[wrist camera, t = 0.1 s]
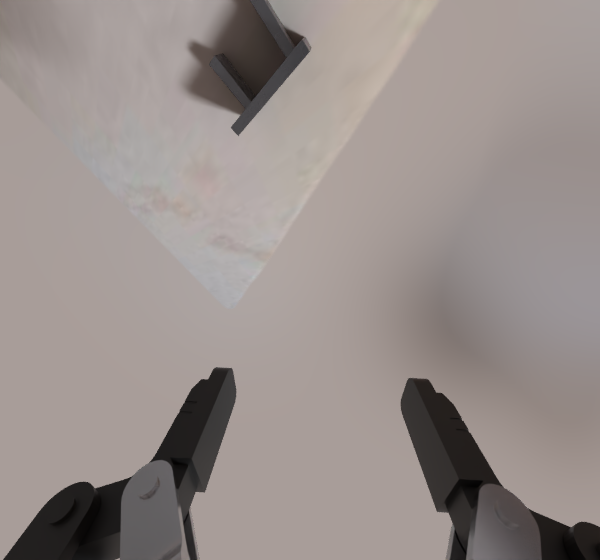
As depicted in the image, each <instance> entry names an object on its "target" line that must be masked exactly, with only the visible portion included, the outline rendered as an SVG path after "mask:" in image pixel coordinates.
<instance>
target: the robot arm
mask: <svg viewBox="0 0 600 560" xmlns="http://www.w3.org/2000/svg"><path fill="white" fill-rule="evenodd" d="M235 399H236V386H235V380H234V375H233V370H232V368H218V367H216V368H214V369H213V371H212V373H211V375H210V377H209V379H208V380H205V379H202V380H200V381H199V383H197V384H196V385H195V386H194V387H193V388H192V389H191V391H190V393H189V395H188V397H187V398H186V401H185V403H184V404H183V406H182V407H181V409H180V412H179V414H178V415H177V417H176V418H175V420H174V422H173V424H172V426H171V428H170V429H169V431H168V433H167V435H166V437H165V438H164V440H163V442H162V444H161V446H160V447H159V449H158V451H157V453H156V454H155V456H154V457H153V459H152V460H151V461H150V462H149V463H148V464H146V465H145V466H144V467H142V468H141V469H139V470H138V471H137V472H136V473H135V474H134V475H133V476H132V477H130V478H128V479H125V480H122V481H119V482H115V483H112V484H109V485H105V486H102V487H99V488H94V487H93V486H92V485H91V484H90V483H88V482H78V483H75V484H72V485H70V486H68V487H67V488H65V489H63V490H61V491H60V492H59V493H57V494H56V495H55V496H54V497H53V498H51V499H50V500H49V501H48V502H47V503H46V504H45V505H44V507H43V508H42V509H41V510H40V511H39V513H38V514H37V515H36V517H35V518H34V519H33V521H32V522H31V523H30V525H29V526H28V527H27V529H26V530H25V532H24V533H23V534H22V535H21V537H20V538H19V539H18V541H17V542H16V544H15V545H14V546H13V547H12V549H11V550H10V551H9V553H8V554H7V555H6V557H5V558H4V559H3V560H115V559H118V558H120V560H199V554H198V548H197V542H196V537H195V531H194V525H193V520H192V515H191V509H190V506H191V503H192V500H193V497H194V495H195V492H205V490H206V487H207V484H208V481H209V478H210V475H211V472H212V469H213V466H214V463H215V460H216V457H217V454H218V451H219V448H220V445H221V442H222V439H223V437H224V434H225V430H226V427H227V424H228V421H229V418H230V416H231V413H232V409H233V407H234V403H235ZM401 411H402V415H403V418H404V420H405V423H406V426H407V429H408V431H409V434H410V437H411V440H412V443H413V445H414V448H415V451H416V454H417V457H418V460H419V462H420V465H421V468H422V471H423V474H424V476H425V479H426V482H427V485H428V488H429V490H430V493H431V496H432V499H433V502H434V504H435V507H436V510H437V512H447V513H449V515H450V517H451V520H452V523H453V524H452V527H451V532H450V538H449V545H448V550H447V555H446V560H600V527H598V526H596V525H594V524H591V523H587V522H579V523H577V524H575V525H574V526H573V527H569V526H566V525H564V524H562V523H559V522H557V521H555V520H552V519H550V518H548V517H545V516H543V515H540V514H538V513H536V512H534V511H532V510H530V509H528V508H527V507H526V506H525V505H524V504H523V503H522V502H521V500H520V499H518V498H517V497H516V496H515V495H514V494H513V493H511V492H510V491H508V490H507V489H505V488H504V487H503V486H502V485H501V484H500V482H499V481H498V479H497V478H496V476H495V474H494V473H493V471H492V469H491V467H490V466H489V464H488V462H487V461H486V459H485V457H484V456H483V454H482V452H481V450H480V449H479V447H478V445H477V443H476V442H475V440H474V438H473V437H472V435H471V433H469V431H468V428H467V426H466V425H465V423H464V421H462V418H461V416H460V415H459V413H458V411H457V410H456V408H455V406H454V405H453V404H452V403H451V402H450V401H449V400H448V399H447V398H446V397H445V396H444V395H443V394H442V393H436V392H435V390H434V388H433V386H432V384H431V383H430V381H429V380H428V379H417V378H409V379H408V380H407V383H406V386H405V389H404V392H403V395H402V399H401Z"/></svg>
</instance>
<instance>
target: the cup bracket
mask: <svg viewBox="0 0 600 560" xmlns="http://www.w3.org/2000/svg"><path fill="white" fill-rule="evenodd" d="M250 1H251V3H252V4H253V6H254V8H255V9H256V11H257V12H258V14H259V15H260V17H261V19H262V20H263V22H264V23H265V25H266V27H267V28H268V30H269V31H270V33H271V34H272V36H273V38H274V39H275V41H276V42H277V44H278V45H279V47H280V49H281V50H282V52H283V53H284V55H285V56H286V60H285V61H284V62H283V63H282V65H281V66H280V67H279V68H278V70H277V71H276V72H275V73H274V74H273V76H272V77H271V78H270V79H269V81H268V82H267V83H266V84H265V86H264V87H263V88H262V89H261V91H260V92H259V93H258V94H257V96H255V95H254V93H253V92H252V91H251V90H250V88H249V87H248V86H247V84H246V83H245V82H244V80H243V79H242V78H241V77H240V75H239V74H238V73H237V71H236V70H235V69H234V67H233V66H232V65H231V64H230V62H229V61H228V60H227V58H226V57H225V56H224V54H219V55H215V56H214V57H213V59H212V60H211V62H210V64H209V65H210V66H211V67H212V68H213V70H214V71H215V72H216V73H217V75H218V76H219V77H220V78H221V79H222V81H223V82H224V83H225V84H226V86H227V87H228V88H229V89H230V90H231V92H232V93H233V94H234V95H235V97H236V98H237V99H238V100H239V101H240V103H241V104H242V105H243V106H244V108H245V111H244V112H243V113H242V114H241V116H240V117H239V118H238V119H237V121H236V122H235V123H234V124H233V125H232V127H231V128H232V130H233V131H234V132H235V133H236V134H237V135H238V136H239V134H240V133H241V132H242V131H243V130H244V128H245V127H246V126H247V125H248V124H249V123H250V121H251V120H252V119H253V118H254V117H255V116H256V114H257V113H258V112H259V111H260V110H261V108H262V107H263V106H264V105H265V104H266V103H267V101H268V100H269V99H270V98H271V97H272V95H273V94H274V93H275V92H276V91H277V90H278V88H279V87H280V86H281V85H282V84H283V82H284V81H285V80H286V79H287V78H288V77H289V75H290V74H291V73H292V72H293V71H294V69H295V68H296V67H297V66H298V65H299V64H300V62H301V61H302V60H303V59H304V58H305V57H306V55H307V54H308V53H309V52H310V50H311V46H310V45H309V43H308V41H307V39H306V38H303V39H302V40H301V41H300V42H299V43H298V45H297V46H296V47H295V45H294V43H293V42H292V40H291V38H290V37H289V35H288V33H287V32H286V30H285V28H284V27H283V25H282V23H281V22H280V20H279V18H278V17H277V15H276V13H275V12H274V10H273V8H272V7H271V5H270V3H269V2H268V0H250Z"/></svg>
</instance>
